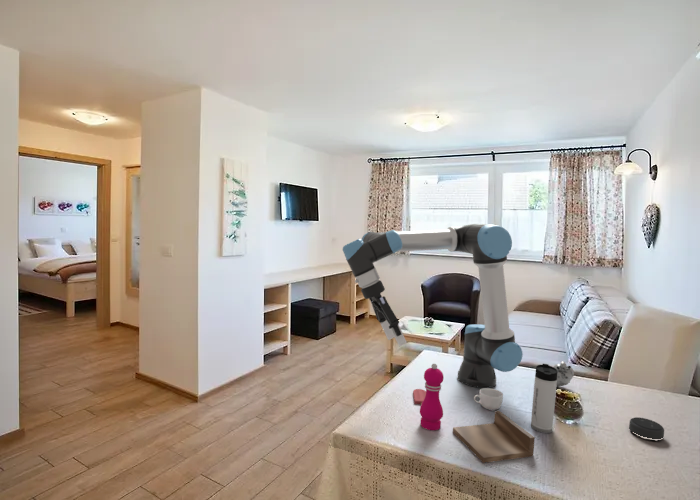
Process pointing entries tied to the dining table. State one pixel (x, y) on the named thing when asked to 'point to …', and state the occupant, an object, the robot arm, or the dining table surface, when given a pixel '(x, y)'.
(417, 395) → the popsicle
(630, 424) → the smart speaker
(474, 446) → the spice board
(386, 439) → the dining table surface
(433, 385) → the pepper mill
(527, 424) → the dining table surface
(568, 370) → the grey rounded lump
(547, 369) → the travel mug
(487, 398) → the teacup
